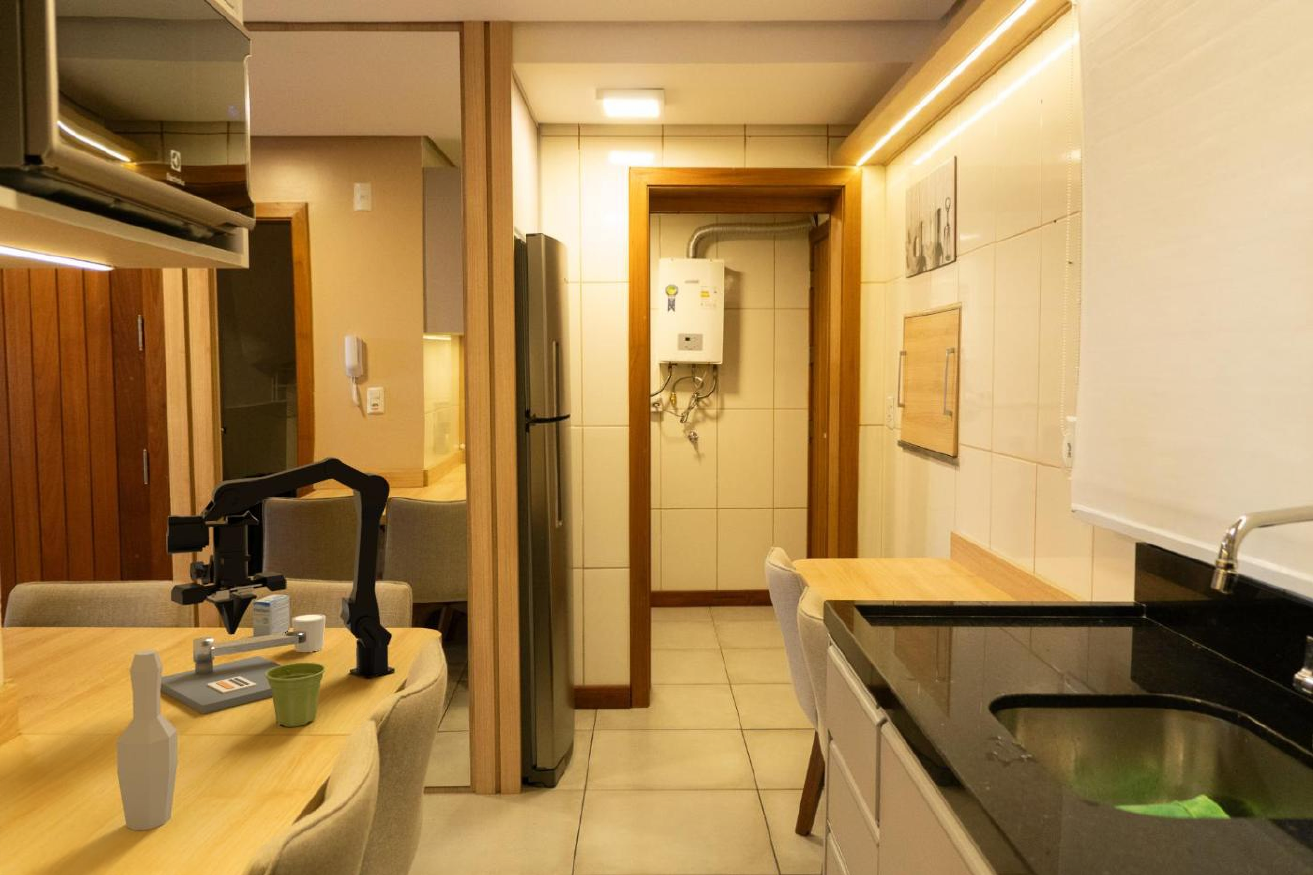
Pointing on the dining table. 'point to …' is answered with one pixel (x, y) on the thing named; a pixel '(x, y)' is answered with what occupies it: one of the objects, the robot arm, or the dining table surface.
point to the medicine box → (271, 615)
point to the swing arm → (242, 645)
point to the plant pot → (295, 692)
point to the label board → (220, 684)
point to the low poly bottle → (147, 750)
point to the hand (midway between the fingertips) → (231, 634)
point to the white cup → (310, 631)
